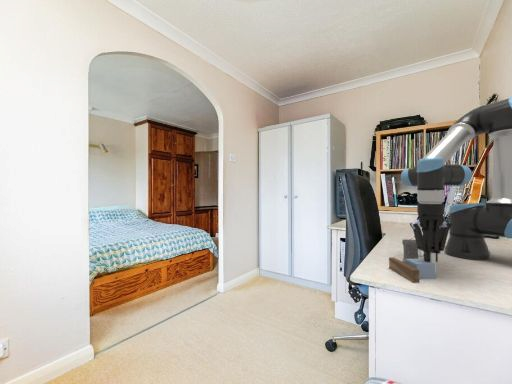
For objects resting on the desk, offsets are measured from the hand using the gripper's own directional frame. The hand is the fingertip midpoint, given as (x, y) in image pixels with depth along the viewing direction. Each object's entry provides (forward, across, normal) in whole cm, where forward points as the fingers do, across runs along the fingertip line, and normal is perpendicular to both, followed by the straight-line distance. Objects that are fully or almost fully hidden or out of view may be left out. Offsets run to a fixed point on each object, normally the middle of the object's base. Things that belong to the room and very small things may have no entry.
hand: (430, 271), depth 82 cm
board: (+2, +9, -1) cm, 9 cm away
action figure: (+2, -11, -25) cm, 28 cm away
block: (+2, +4, 0) cm, 4 cm away
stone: (+2, 0, -11) cm, 11 cm away
